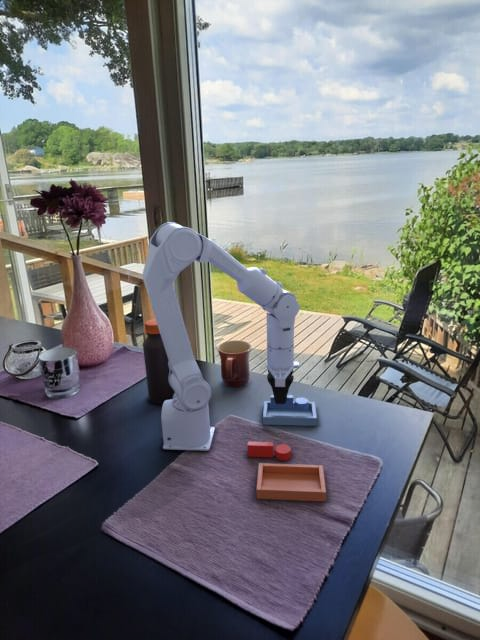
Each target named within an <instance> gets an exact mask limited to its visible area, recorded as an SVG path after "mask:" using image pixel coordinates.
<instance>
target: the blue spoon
mask: <svg viewBox="0 0 480 640" xmlns="http://www.w3.org/2000/svg"><path fill="white" fill-rule="evenodd" d="M269 398H270V400H269V401H270V403H271V408H293V401H295V408H296V409H298V410H306V409H308V402H309V399H308V398H306V397H303V396H302V397H301V396H300V397H296V398H294V395H293V394H287V399H286V403H285V404H276V403H275V399H274V394H270V397H269Z"/></svg>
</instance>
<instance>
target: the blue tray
mask: <svg viewBox="0 0 480 640" xmlns="http://www.w3.org/2000/svg"><path fill="white" fill-rule="evenodd" d="M262 425H264V426H271V425H272V426H302V427H303V426H304V427H305V426H306V427H307V426H308V427H317V425H318V416H317V407H316V402H315V401H308V409H306V410H298V409H296V408H295V400H293V408H271V403H270V400H264V401H263V412H262Z"/></svg>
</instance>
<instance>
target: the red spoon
mask: <svg viewBox="0 0 480 640" xmlns="http://www.w3.org/2000/svg"><path fill="white" fill-rule="evenodd" d="M246 449H247V457H248V458H274V456H275V458H276V460H280V461H287V460H289V459H290V458H291V457H292V448H291V446H290V445H288V444H285V443H281V444H278V445H276V446H275V448H274V441H247V447H246Z"/></svg>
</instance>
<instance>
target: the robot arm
mask: <svg viewBox="0 0 480 640" xmlns="http://www.w3.org/2000/svg"><path fill="white" fill-rule="evenodd" d="M147 251H148V252H147V256H146V259H145V264H144V266H143V269H142V281H143V284H144V287H145V290H146V293H147V297H148V299H149V303H150V306H151V310H152V313H153V315H154V319H156V322H157V325H158V328H159V331H160V334H161V338H162V341H163V344H164V347H165V350H166V353H167V357H168V360H169V362H168V366H169V370H170V372H169V377H168V380H169V384H170V386H171V387H172V389H173V390H174V391H175V393H174V396H173V399H170V400H165V401H164V403H163V404H162V407H161V413H160V414H161V416H160V419H161V430H162V432H161V433H162V441H163V445H162V449H163V450H168V451H169V450H171V451H200V452H202V451H204V452H208V451H210V449H211V445H212V442H213V438H214V434H215V431H216V427H214V426H211V422H210V421H211V420H210V407H209V406H210V405H209V402H210V400H211V398H212V389H211V386H210V384H209V383H208V382H207V381H206V380H205V379H204V378H203V374H202V371H201V370H200V367H199V365H198V363H197V360H196V358H195V356H194V352H193V349H192V345H191V342H190V339H189V335H188V331H187V328H186V325H185V321H184V317H183V313H182V311H181V308H180V305H179V300H178V297H177V294H176V290H175V287H174V282H175V281H176V279H177V277H178V276H179V275H180V273H181V272H182V271H183V270H184V269H186V268H187V267H189V265H191V264H192V263H194V261H196V262H197V263H209V264H211V265H212V266H214V267H216V269H218V270H220V271H221V272H222V273H224V274H226V275H227V276H229V277H230V278H232V279H233V280H235V281H236V285H237V286H236V287H237V290H238V292H239V293H241V294H243V295H244V296H245V297H246V298H248V299H249V300H251V301H252V302H254V303H255V304H256V305H258V306H259V307H261V308H262V310H263V311H266V363H265V367H266V370H267V374H266V380H267V382H268V384H269V385H270V387H271V390H272V392H273V394H272V395H274V399H275V403H276V404H285V403H286V399H287V395H289V390H290V388H291V385H292V384H293V382H294V379H295V377H294V375H293V374H294V369H299V368H300V362H299V361H297V360H296V361H295V323H296V322H295V320H296V316H297V315H298V314H299V313H300V309H301V304H300V303H299V301H298V299H297V296H296V295H295V294H294V293H292V292H290V291H288V290H285V289H283V287H284V284H282V283H281V282H280V281H277V282H276V281H275V280H274V279H272V278H271V277H270V276H268V275H267V274H268V271H267V270H265V269H264V268H263V267H259V268H258V267H256V266H251V267H246V266H245V265H243V264H242V263H241V262H239V261H238V259H236V258H235V257H233V256H232V254H230V253H228V252H227V251H226V250H225V249H224V248H222V247H221V246H220V245H219V244H218V243H216V242H215V241H213V240H212V239H210V238H208V237H206V236H204V235H202V234H200V233H198V232H197V231H196V230H194V229H193V228H191V227H188V226H183V225H181V224H179V223H178V222H174V221H173V222H172V221H168V222H164V223H163V224H161V225H159V226H158V227H157V229H156V230H155V231H154V233H153V234H152V236H151V237H150V239H149V243H148V250H147Z"/></svg>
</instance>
